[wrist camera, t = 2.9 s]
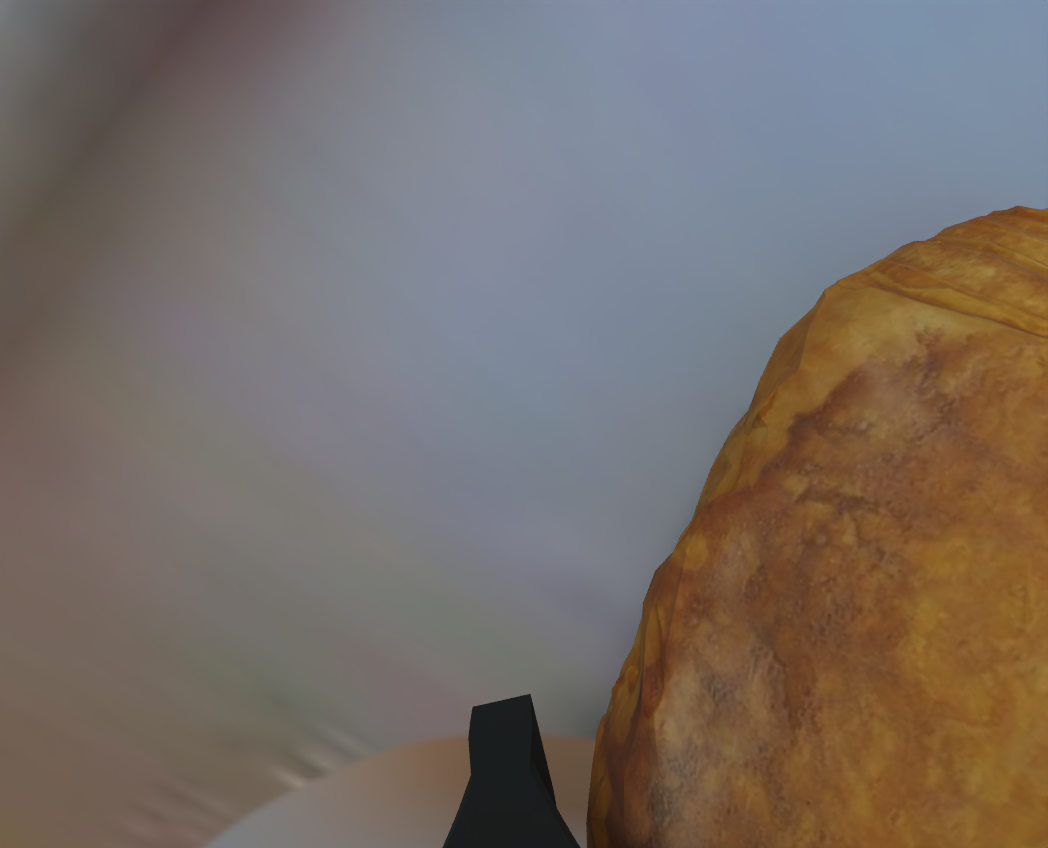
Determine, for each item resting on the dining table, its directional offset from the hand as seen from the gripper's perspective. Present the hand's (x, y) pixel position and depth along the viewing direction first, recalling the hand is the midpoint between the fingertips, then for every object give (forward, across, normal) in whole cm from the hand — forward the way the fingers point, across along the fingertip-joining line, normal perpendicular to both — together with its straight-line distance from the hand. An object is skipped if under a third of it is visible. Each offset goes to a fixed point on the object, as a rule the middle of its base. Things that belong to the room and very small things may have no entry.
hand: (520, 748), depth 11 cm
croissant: (+4, -8, +1) cm, 9 cm away
